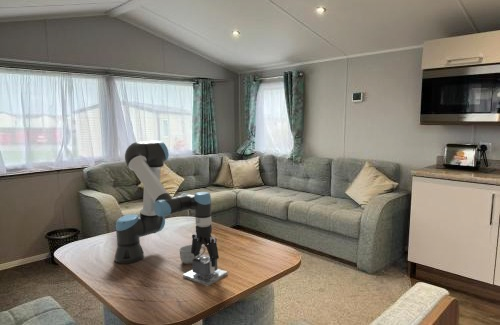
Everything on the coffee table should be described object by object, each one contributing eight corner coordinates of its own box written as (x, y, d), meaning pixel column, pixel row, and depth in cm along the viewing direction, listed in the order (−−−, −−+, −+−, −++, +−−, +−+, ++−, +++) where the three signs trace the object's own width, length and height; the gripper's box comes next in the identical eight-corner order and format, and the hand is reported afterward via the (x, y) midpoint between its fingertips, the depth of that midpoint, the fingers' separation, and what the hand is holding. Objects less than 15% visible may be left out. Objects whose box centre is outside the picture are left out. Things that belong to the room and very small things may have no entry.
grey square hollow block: (192, 272, 161) (192, 259, 160) (204, 265, 168) (204, 254, 167) (205, 276, 156) (205, 263, 156) (217, 269, 163) (217, 257, 162)
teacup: (180, 267, 172) (180, 252, 171) (179, 259, 183) (178, 245, 182) (207, 264, 176) (207, 249, 175) (204, 256, 186) (204, 242, 185)
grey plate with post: (183, 277, 161) (182, 258, 160) (203, 266, 173) (202, 249, 172) (207, 286, 152) (207, 266, 151) (227, 274, 163) (226, 255, 162)
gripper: (182, 223, 162) (184, 268, 165) (215, 230, 150) (216, 278, 153) (193, 219, 168) (194, 262, 171) (225, 226, 156) (227, 272, 159)
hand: (205, 270), depth 162 cm, fingers closed on grey square hollow block, 8 cm apart
